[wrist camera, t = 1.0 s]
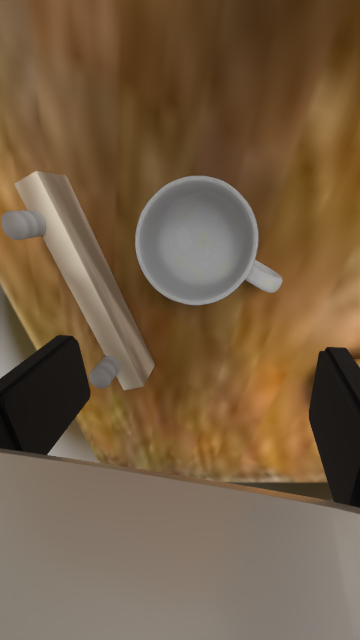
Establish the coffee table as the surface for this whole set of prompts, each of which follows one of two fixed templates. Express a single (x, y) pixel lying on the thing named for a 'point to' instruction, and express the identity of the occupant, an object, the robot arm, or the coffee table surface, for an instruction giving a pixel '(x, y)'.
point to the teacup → (200, 242)
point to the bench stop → (82, 275)
